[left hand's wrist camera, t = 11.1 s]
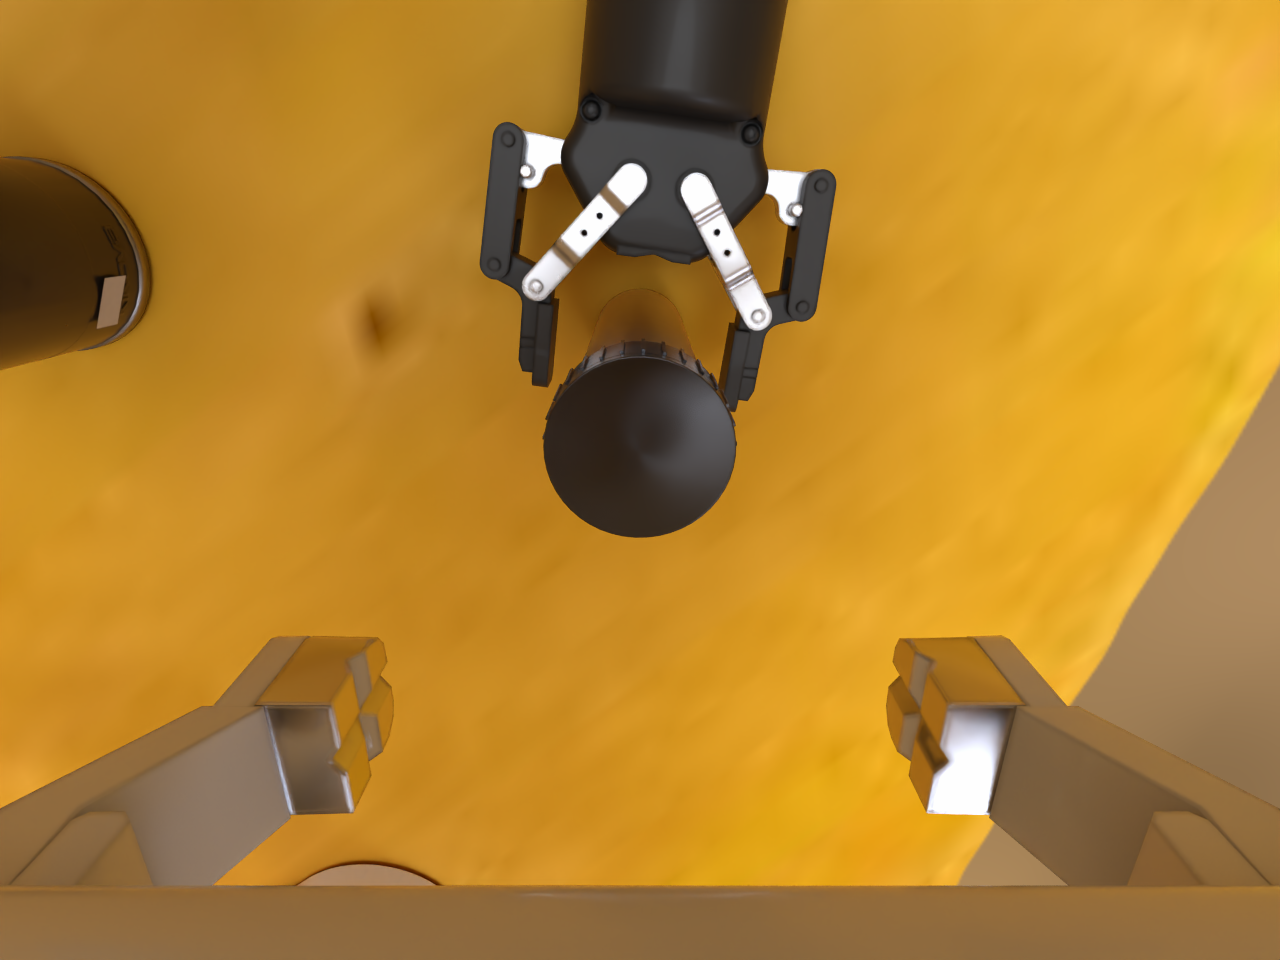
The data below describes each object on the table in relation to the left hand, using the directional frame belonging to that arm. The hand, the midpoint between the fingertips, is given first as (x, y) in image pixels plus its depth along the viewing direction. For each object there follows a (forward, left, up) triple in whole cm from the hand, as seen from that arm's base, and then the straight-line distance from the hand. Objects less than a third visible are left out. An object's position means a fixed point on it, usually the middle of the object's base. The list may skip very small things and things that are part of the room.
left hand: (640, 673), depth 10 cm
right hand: (-2, 0, -23) cm, 23 cm away
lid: (0, 0, -10) cm, 10 cm away
